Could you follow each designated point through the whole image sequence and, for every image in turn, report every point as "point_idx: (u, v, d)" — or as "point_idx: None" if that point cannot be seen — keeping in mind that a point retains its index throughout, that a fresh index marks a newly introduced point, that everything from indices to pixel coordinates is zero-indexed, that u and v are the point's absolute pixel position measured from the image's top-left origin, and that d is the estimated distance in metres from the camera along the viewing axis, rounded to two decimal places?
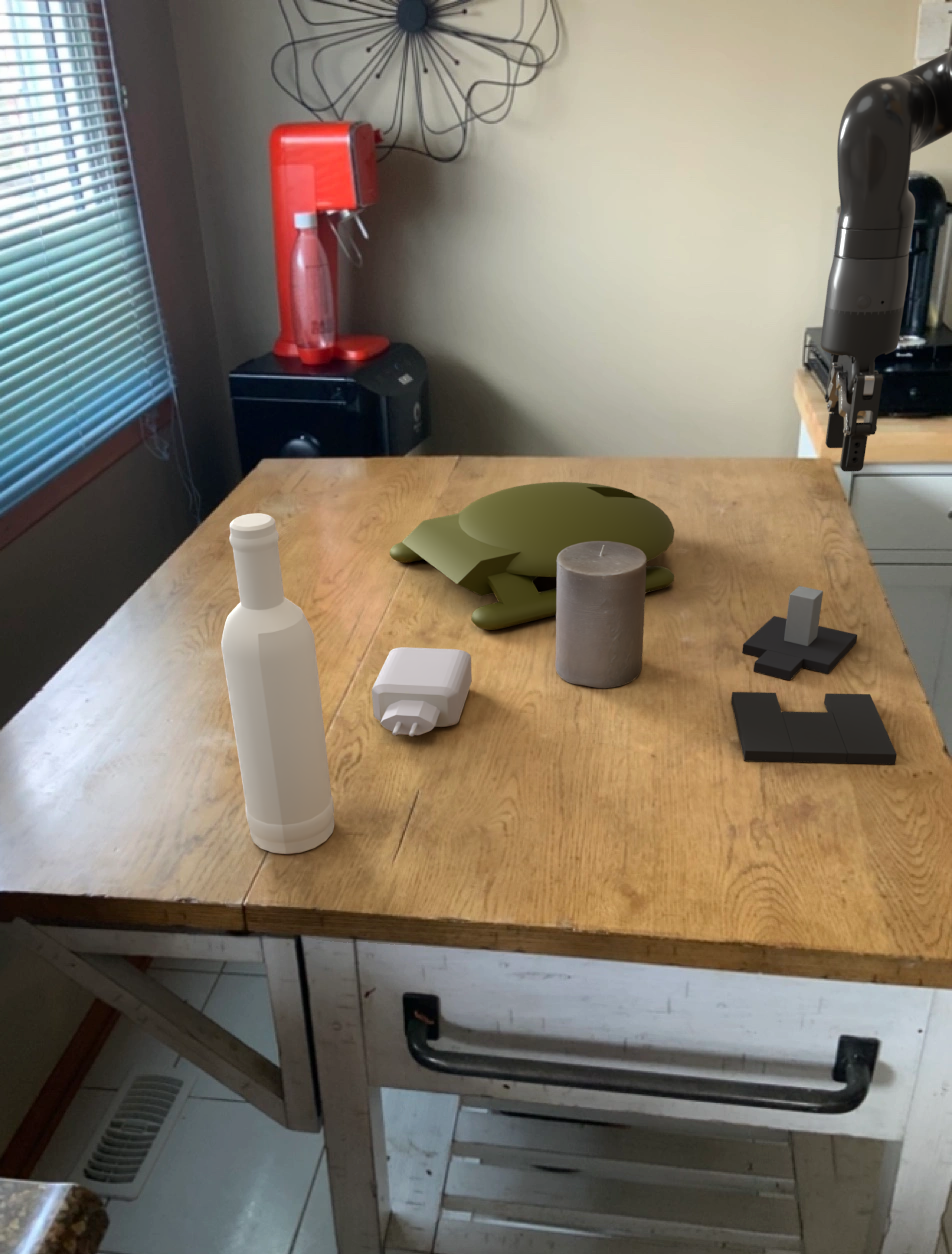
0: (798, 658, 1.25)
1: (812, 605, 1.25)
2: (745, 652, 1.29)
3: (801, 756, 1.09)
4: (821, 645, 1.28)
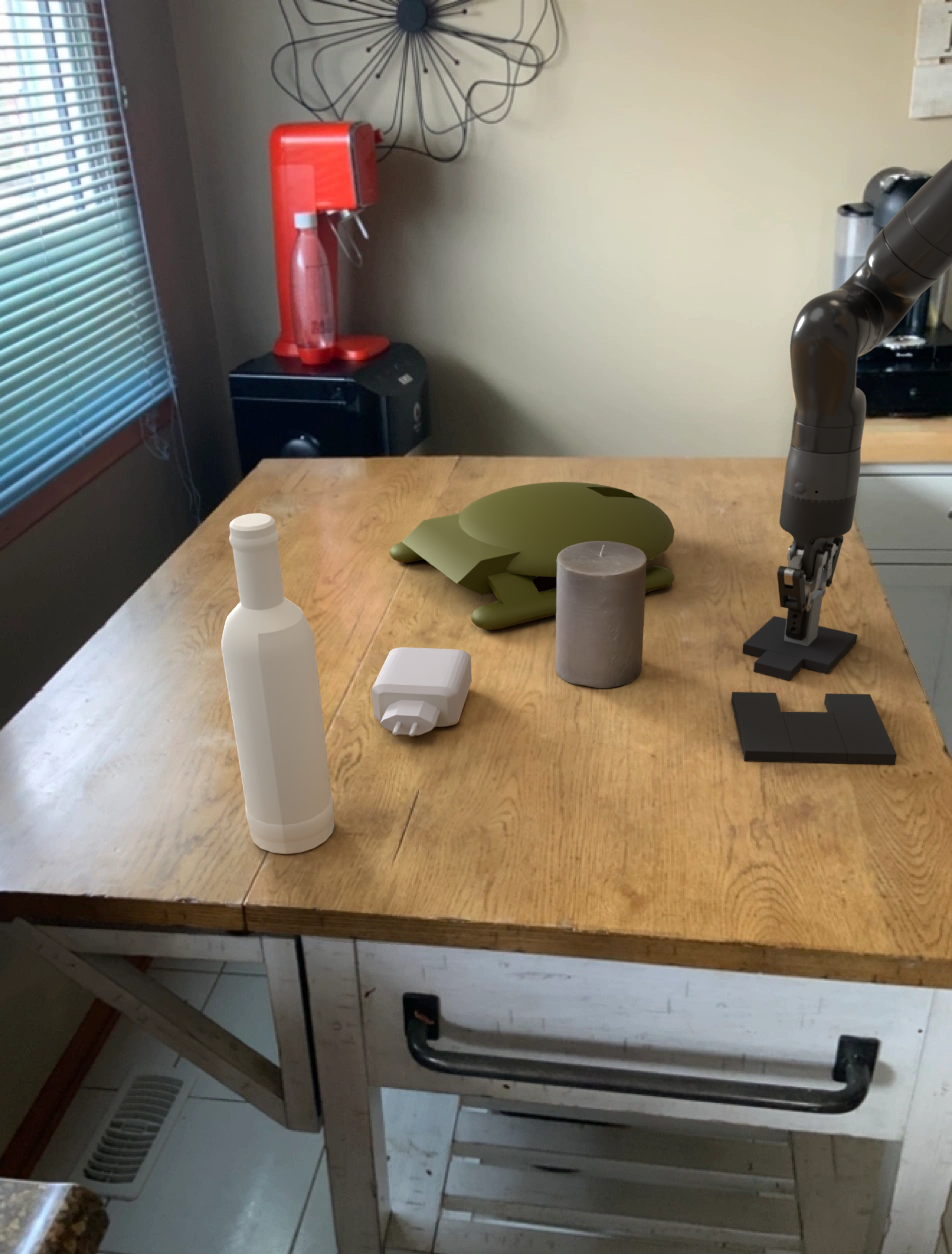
0: (798, 658, 1.25)
1: (812, 605, 1.25)
2: (745, 652, 1.29)
3: (801, 756, 1.09)
4: (821, 645, 1.28)
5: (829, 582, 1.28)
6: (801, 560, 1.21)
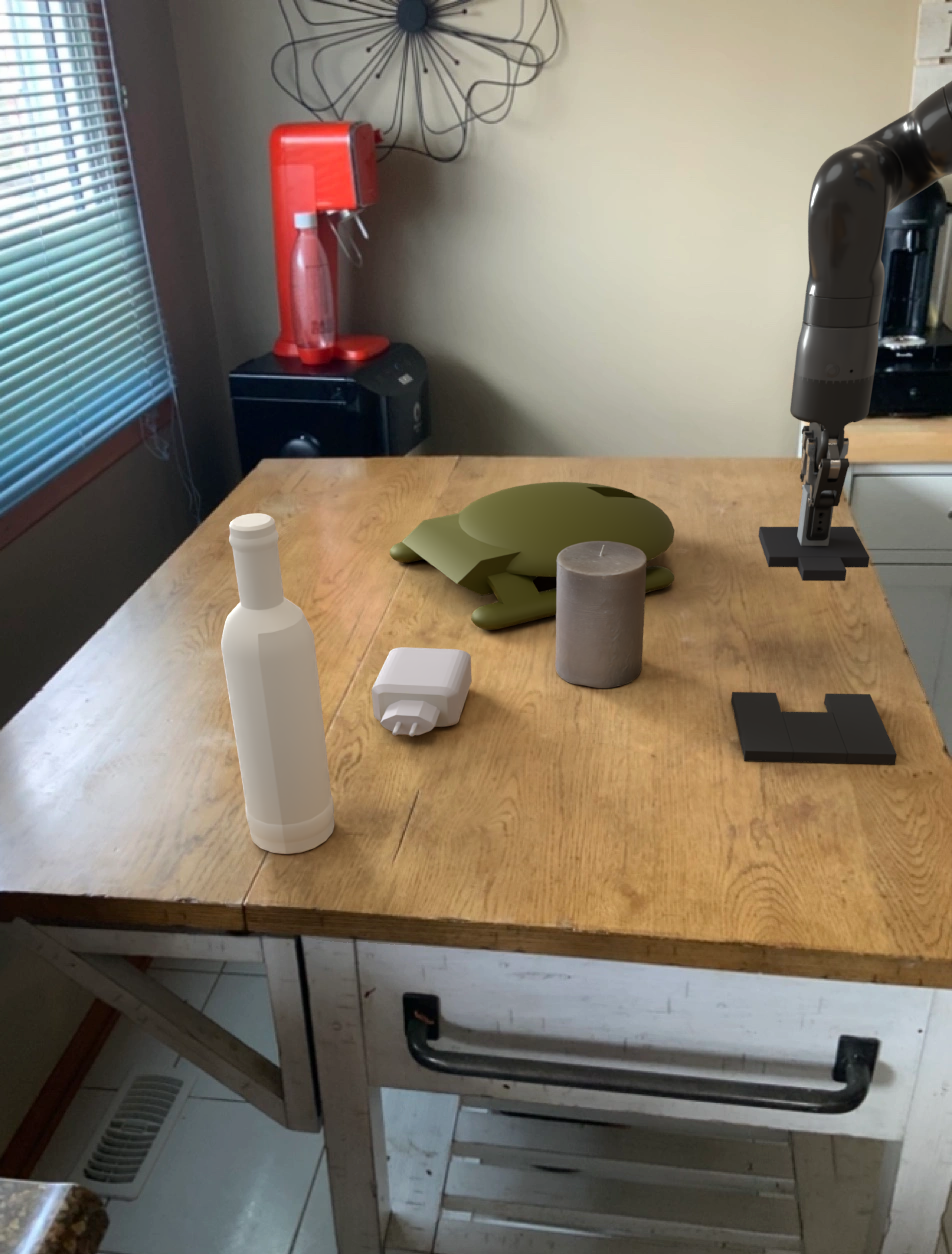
0: (836, 557, 1.17)
1: None
2: (772, 565, 1.18)
3: (801, 756, 1.09)
4: (838, 542, 1.20)
5: None
6: (837, 449, 1.12)
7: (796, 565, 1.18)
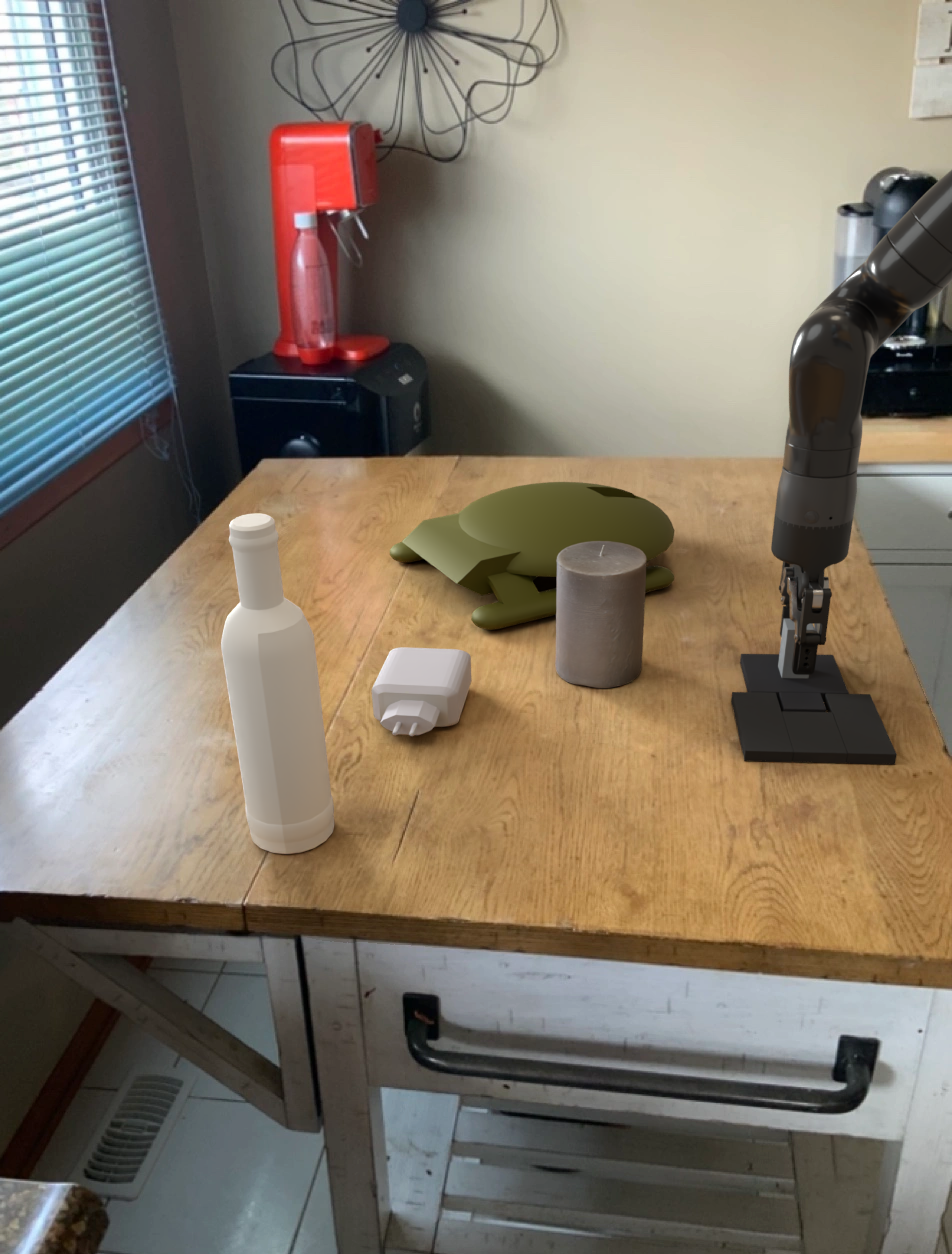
0: (816, 693, 1.18)
1: None
2: None
3: (801, 756, 1.09)
4: (818, 674, 1.22)
5: None
6: (818, 585, 1.13)
7: None
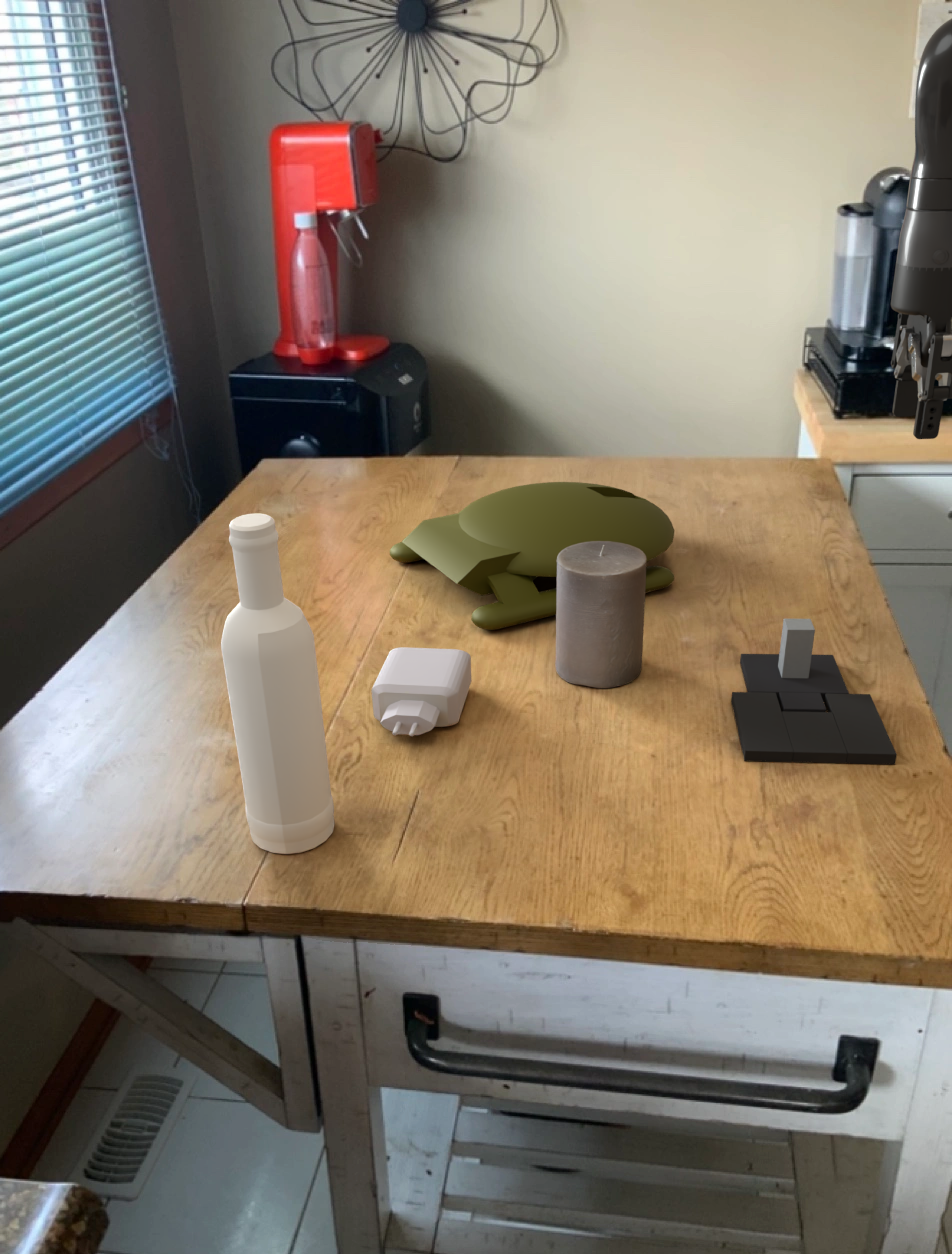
0: (816, 693, 1.18)
1: (813, 636, 1.19)
2: None
3: (801, 756, 1.09)
4: (818, 674, 1.22)
5: None
6: None
7: None
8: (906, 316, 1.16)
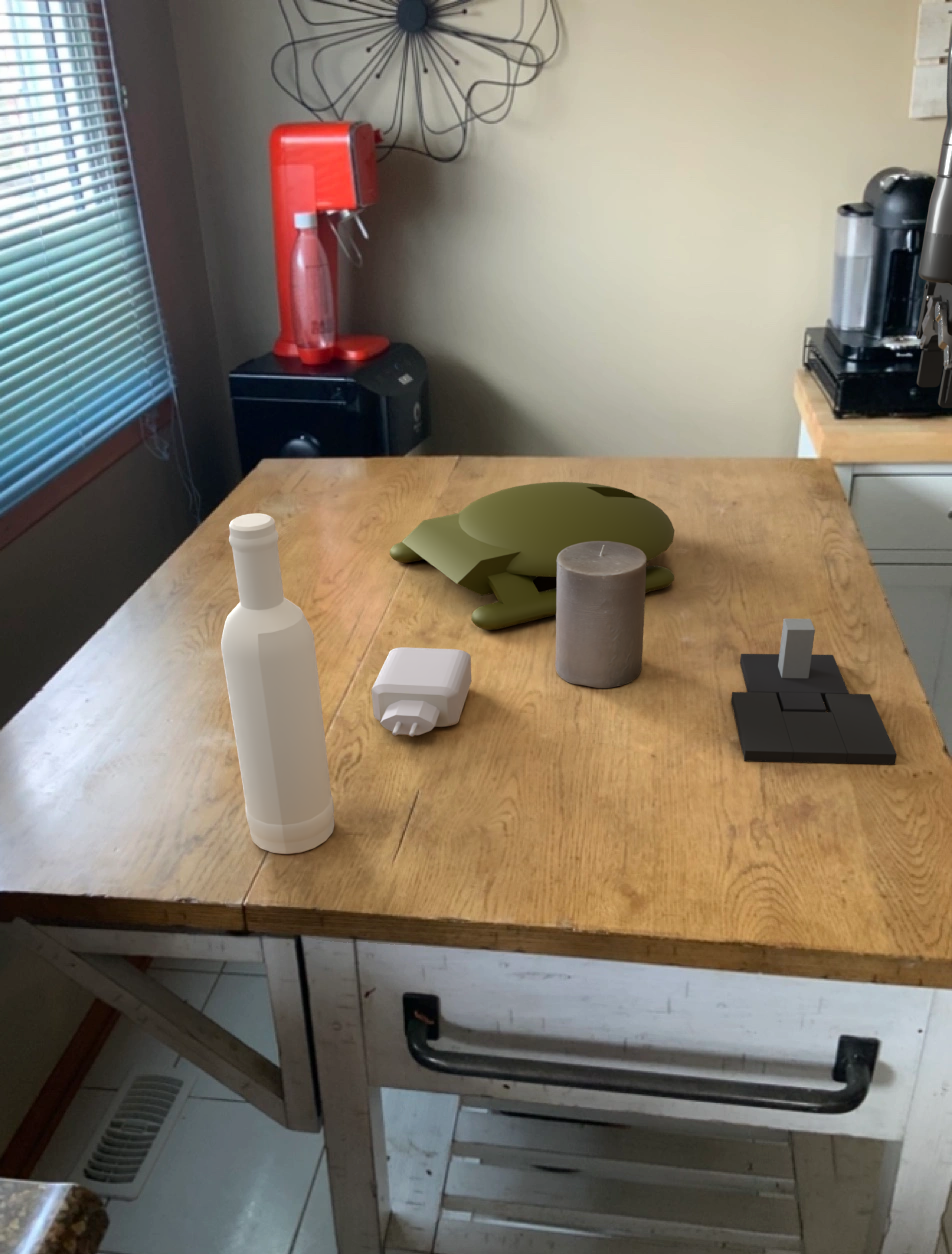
0: (816, 693, 1.18)
1: (813, 636, 1.19)
2: None
3: (801, 756, 1.09)
4: (818, 674, 1.22)
5: None
6: None
7: None
8: (933, 286, 1.16)
